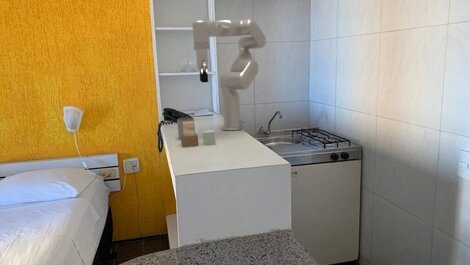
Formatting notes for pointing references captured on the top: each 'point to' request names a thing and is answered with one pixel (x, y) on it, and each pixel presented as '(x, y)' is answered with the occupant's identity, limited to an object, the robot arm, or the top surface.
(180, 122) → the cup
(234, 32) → the robot arm
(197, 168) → the top surface
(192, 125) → the maple block
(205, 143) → the sage block
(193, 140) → the walnut block
